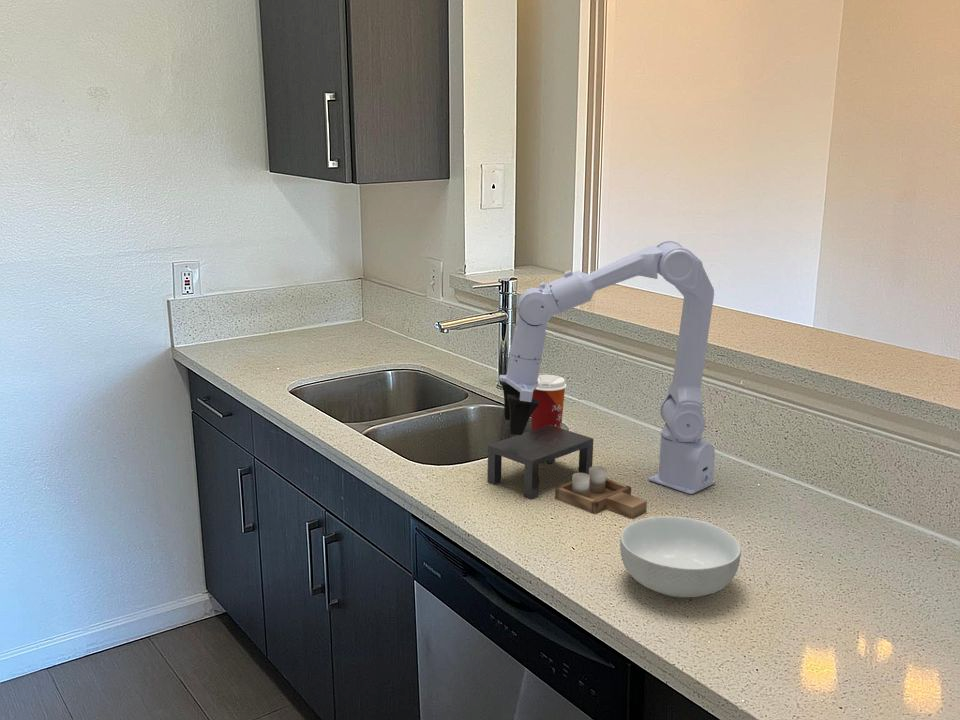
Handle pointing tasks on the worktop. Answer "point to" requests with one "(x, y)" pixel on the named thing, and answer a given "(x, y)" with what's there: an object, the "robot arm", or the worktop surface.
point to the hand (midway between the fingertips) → (513, 426)
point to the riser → (538, 453)
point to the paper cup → (548, 401)
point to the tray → (600, 494)
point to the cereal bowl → (679, 555)
